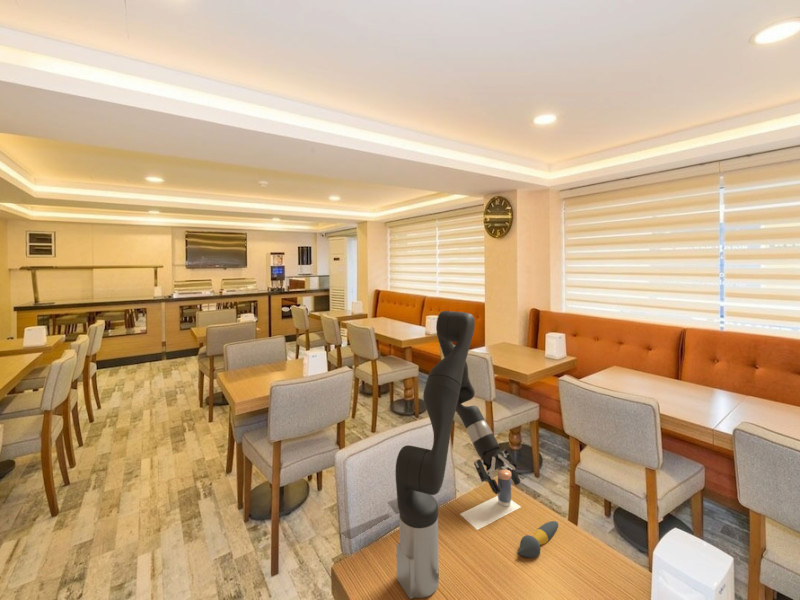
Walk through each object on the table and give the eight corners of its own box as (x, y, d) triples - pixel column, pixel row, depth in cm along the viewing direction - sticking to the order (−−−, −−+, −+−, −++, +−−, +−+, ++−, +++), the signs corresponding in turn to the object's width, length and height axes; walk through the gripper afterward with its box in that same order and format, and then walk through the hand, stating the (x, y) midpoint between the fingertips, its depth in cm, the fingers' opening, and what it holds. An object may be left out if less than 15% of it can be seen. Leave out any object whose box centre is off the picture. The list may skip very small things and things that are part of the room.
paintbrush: (544, 520, 105) (544, 504, 105) (561, 529, 102) (562, 512, 101) (512, 561, 91) (512, 543, 91) (531, 572, 88) (531, 554, 87)
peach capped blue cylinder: (504, 509, 108) (504, 477, 107) (494, 501, 112) (494, 471, 111) (514, 504, 110) (514, 473, 109) (504, 497, 114) (504, 467, 113)
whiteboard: (476, 537, 99) (476, 532, 99) (455, 518, 107) (455, 513, 107) (525, 511, 109) (525, 507, 109) (503, 495, 117) (503, 491, 117)
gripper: (471, 439, 112) (498, 493, 103) (503, 427, 119) (531, 477, 110) (460, 447, 117) (485, 500, 108) (492, 436, 124) (517, 484, 115)
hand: (508, 488), depth 109 cm, fingers open, 8 cm apart
